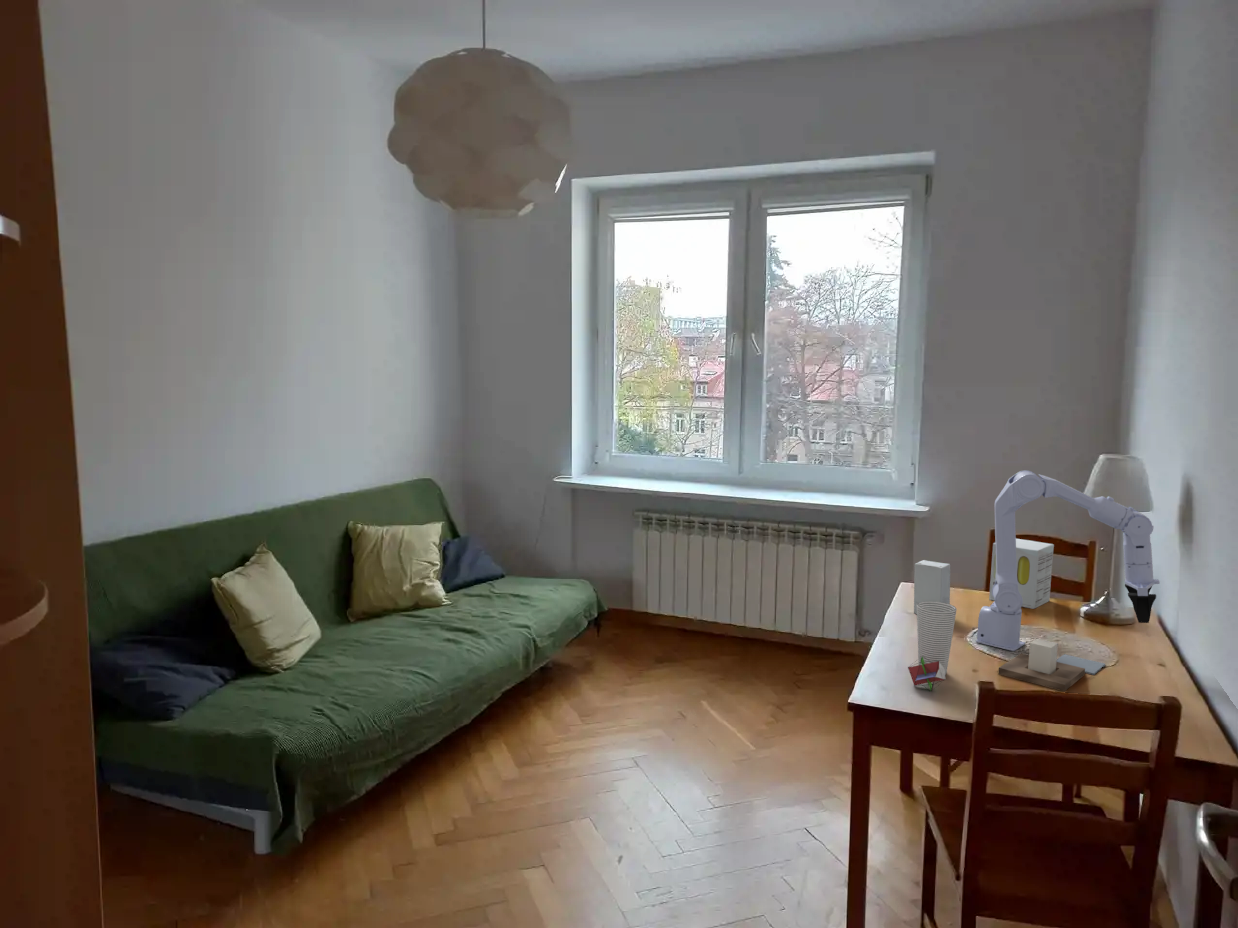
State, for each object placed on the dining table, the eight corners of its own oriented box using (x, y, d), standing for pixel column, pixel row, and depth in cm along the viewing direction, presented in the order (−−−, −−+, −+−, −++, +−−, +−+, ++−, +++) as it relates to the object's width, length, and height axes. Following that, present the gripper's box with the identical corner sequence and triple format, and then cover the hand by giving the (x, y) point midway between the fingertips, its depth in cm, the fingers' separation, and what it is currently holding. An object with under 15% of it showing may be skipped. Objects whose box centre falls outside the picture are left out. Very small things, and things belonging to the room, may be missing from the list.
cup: (931, 681, 188) (936, 613, 186) (904, 668, 196) (908, 603, 194) (960, 675, 191) (965, 609, 190) (932, 663, 199) (937, 599, 197)
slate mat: (1051, 664, 200) (1051, 662, 200) (1064, 655, 206) (1064, 653, 206) (1093, 674, 193) (1093, 673, 193) (1105, 665, 200) (1105, 663, 200)
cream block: (1027, 674, 193) (1030, 642, 192) (1034, 669, 196) (1037, 638, 195) (1048, 679, 190) (1051, 647, 189) (1055, 674, 193) (1057, 643, 192)
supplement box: (987, 599, 254) (991, 542, 252) (1005, 591, 263) (1009, 536, 261) (1034, 609, 244) (1038, 550, 242) (1050, 601, 254) (1054, 543, 252)
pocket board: (998, 673, 193) (998, 667, 193) (1020, 659, 203) (1021, 653, 203) (1064, 691, 183) (1065, 684, 183) (1084, 674, 193) (1085, 668, 193)
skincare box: (949, 615, 237) (953, 564, 235) (939, 620, 233) (943, 567, 231) (921, 609, 243) (924, 558, 241) (911, 613, 239) (914, 561, 237)
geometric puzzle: (899, 679, 183) (924, 654, 180) (902, 668, 189) (926, 644, 187) (926, 702, 181) (952, 678, 179) (928, 691, 188) (953, 667, 185)
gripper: (1161, 569, 193) (1165, 626, 194) (1154, 555, 206) (1158, 609, 207) (1125, 569, 197) (1129, 626, 198) (1121, 555, 209) (1124, 609, 210)
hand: (1141, 617), depth 203 cm, fingers open, 7 cm apart
